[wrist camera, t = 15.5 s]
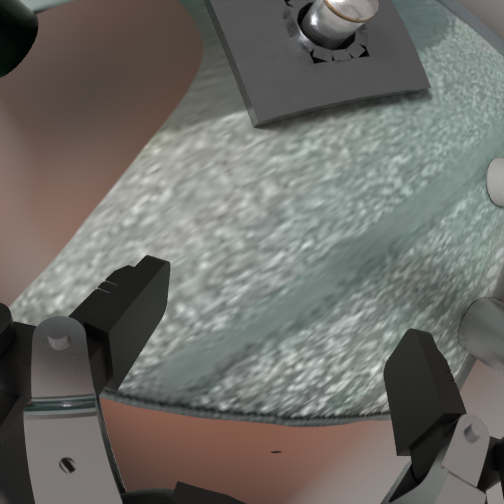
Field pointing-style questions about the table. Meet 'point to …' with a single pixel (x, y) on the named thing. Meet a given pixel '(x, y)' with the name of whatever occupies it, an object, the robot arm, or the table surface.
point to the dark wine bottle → (15, 33)
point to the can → (496, 181)
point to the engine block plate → (312, 59)
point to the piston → (336, 20)
